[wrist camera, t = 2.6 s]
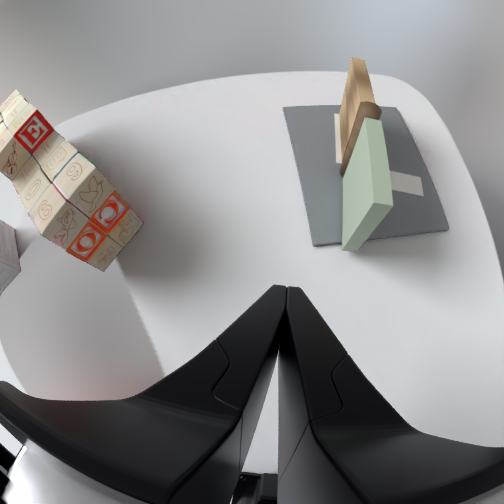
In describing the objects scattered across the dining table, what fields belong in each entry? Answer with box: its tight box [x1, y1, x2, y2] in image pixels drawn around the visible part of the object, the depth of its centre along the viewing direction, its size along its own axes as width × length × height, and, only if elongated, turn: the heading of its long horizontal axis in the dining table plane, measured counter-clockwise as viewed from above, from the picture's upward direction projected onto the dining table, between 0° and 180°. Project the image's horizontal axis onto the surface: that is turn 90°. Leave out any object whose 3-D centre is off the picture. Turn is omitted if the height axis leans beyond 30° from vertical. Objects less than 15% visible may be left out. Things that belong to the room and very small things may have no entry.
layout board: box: [283, 105, 449, 246], centre depth 25 cm, size 16×14×1 cm
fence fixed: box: [339, 58, 382, 178], centre depth 21 cm, size 9×2×8 cm, turn 172°
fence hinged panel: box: [342, 117, 393, 252], centre depth 19 cm, size 7×1×8 cm, turn 172°
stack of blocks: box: [0, 90, 144, 272], centre depth 21 cm, size 21×6×12 cm, turn 51°
